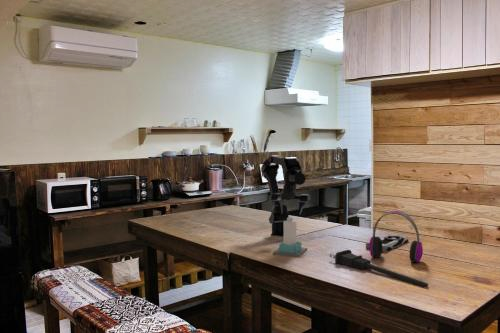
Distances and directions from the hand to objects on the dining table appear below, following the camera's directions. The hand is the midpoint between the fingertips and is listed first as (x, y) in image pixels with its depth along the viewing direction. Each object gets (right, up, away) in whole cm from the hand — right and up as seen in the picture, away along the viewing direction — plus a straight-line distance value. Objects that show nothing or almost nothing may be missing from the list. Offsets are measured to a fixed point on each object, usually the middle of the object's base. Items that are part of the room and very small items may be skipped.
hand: (290, 214), depth 207 cm
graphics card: (+45, -14, -11) cm, 48 cm away
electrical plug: (+27, -17, -48) cm, 58 cm away
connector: (-2, -14, -19) cm, 23 cm away
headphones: (+40, -15, -33) cm, 54 cm away
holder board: (-2, -14, -19) cm, 24 cm away
